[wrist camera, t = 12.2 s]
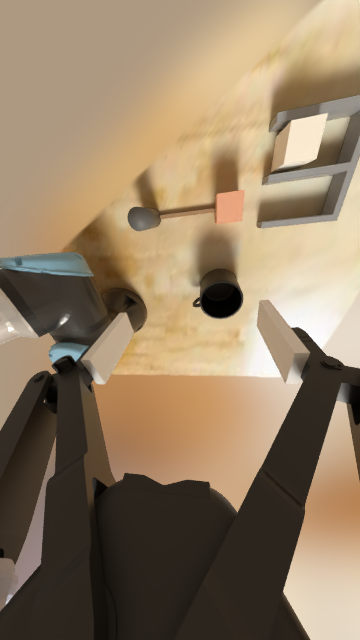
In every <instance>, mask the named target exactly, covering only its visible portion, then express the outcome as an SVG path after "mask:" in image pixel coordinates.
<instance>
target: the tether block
mask: <svg viewBox="0 0 360 640" xmlns="http://www.w3.org/2000/svg"><path fill="white" fill-rule="evenodd" d="M243 202H244V190H240V191H233V192H226V193H219V194H217V195H216V197H215V208H211V209H204V210H196V211H189V212H181V213H174V214H166V215H160V213H159V212H158V211H157V210H156V209H153V208H143V207H133V208H132V209H130V211H129V213H128V222H129V224H130V226H131V227H132V228H133V229H134V230H136V231H143V230H147V229H150V228H154V227H157V226H158V225H159V224H160V222H161V219H165V218H173V217H180V216H188V215H196V214H204V213H212V212H215V223H216V224H220V223H228V222H237V221H242V213H243Z"/></svg>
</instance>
